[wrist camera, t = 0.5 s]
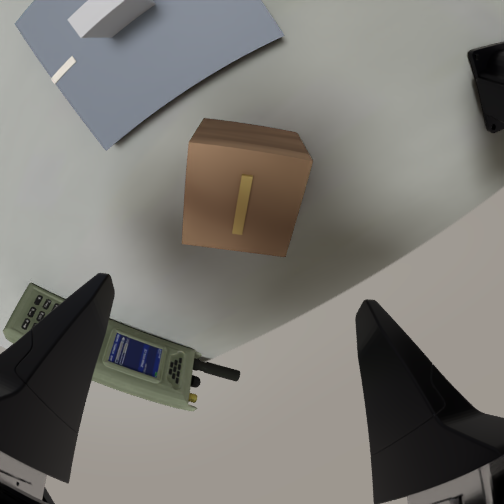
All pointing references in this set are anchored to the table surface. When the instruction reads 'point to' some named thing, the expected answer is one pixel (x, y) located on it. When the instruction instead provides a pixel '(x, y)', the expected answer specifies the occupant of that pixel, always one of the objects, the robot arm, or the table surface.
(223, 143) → the taped cardboard box
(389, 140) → the table surface
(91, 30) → the light switch plate
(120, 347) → the handheld radio
